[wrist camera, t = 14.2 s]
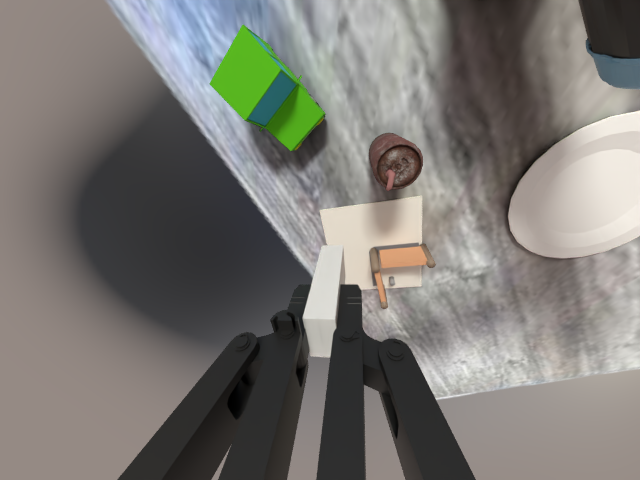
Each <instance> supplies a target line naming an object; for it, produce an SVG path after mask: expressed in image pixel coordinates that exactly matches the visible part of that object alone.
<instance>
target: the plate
mask: <svg viewBox="0 0 640 480" xmlns="http://www.w3.org/2000/svg"><path fill="white" fill-rule="evenodd" d="M508 221H509V227H510V231H511V233H512V234H513V236H514V237H515V239H516V241H517V242H518V243H519V244H521V245H522V246H523V247H525V248H526V249H527V250H528V251H530V252H533V253H536V254H539V255H542V256H544V257H553V258H562V259H563V258H575V257H585V256H589V255H593V254H597V253H601V252H605V251H608V250H610V249H613V248H615V247H618V246H620V245H623V244H625V243H628V242H630V241H631V240H633V239H635V238H637V237H638V236H640V111H635V112H630V113H625V114H620V115H614V116H609V117H607V118H604V119H602V120H599V121H597V122H594V123H592V124H589V125H586V126H584V127H581V128H580V129H578V130H576V131H575V132H573V133H571V134H570V135H568V136H566V137H565V138H563V139H561V140H560V141H558V142H557V143H555V144H554V145H553V146H552V147H550V148H549V149H548V150H547V151H546V152H545V153H543V154H542V155H541V156H540V157H539V158H538V159H537V160H535V161H534V163H533V164H532V165H531V166H530V168H529V169H528V170H527V171H526V173H525V174H524V175H523V176H522V178H521V179H520V180H519V182H518V184H517V186H516V188H515V190H514V193H513V195H512V197H511V199H510V204H509V210H508Z"/></svg>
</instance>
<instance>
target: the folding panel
mask: <svg viewBox="0 0 640 480" xmlns="http://www.w3.org/2000/svg"><path fill="white" fill-rule="evenodd" d="M374 274H375V278H376V282H377V286H378V291H379V295H380V302H381V308H383V309H386V308H388V304H387V298H386V291H385V285H384V284H383V281H382V276H381V272H380V271H379V272H378V273H374Z"/></svg>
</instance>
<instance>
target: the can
mask: <svg viewBox="0 0 640 480" xmlns="http://www.w3.org/2000/svg"><path fill="white" fill-rule="evenodd" d="M369 158H370V162H371V166H372V169H373V173H374V176H375V178H376V180H377V181H378V182H379V183H380V184H381V185H382V186H384V187H385V188H386V190H387V191H389V190H391V189H395V190H396V189H402V188H404V187H407V186H409V185H410V184H412V183H413V182H414V181H415V180H416V179H417V177H418V176H419V174H420V173H421V170H422V166H423V156H422V154H421V151H420V149H419V148H418V147H417V146H416V145H415V144H413V143H411V142H409V141H408V140H406V139H404V138H402V137H400V136H398V135H396V134H394V133H385V134H382V135H380V136H378V137H377V138H376V139H375V140H374V141H373V142H372V144H371V146H370V149H369Z"/></svg>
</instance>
